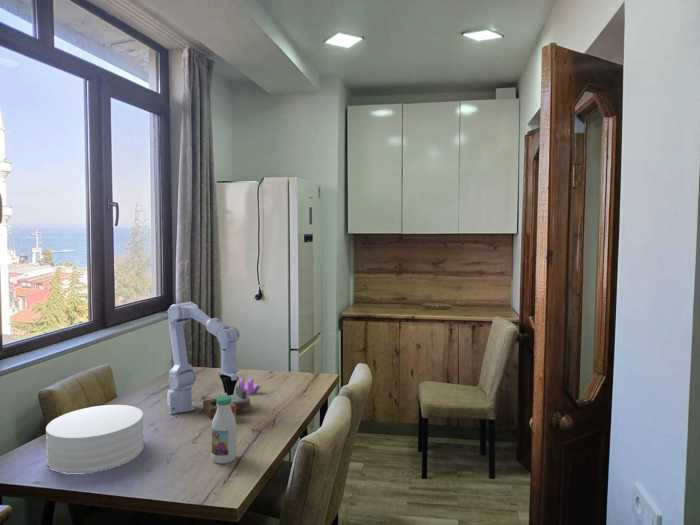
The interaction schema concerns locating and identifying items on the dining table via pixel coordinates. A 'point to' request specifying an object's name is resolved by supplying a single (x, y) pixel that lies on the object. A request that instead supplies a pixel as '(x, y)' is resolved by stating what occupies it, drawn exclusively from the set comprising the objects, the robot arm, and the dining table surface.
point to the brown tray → (211, 407)
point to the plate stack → (94, 438)
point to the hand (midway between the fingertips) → (229, 393)
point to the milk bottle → (224, 432)
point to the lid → (238, 396)
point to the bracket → (248, 386)
